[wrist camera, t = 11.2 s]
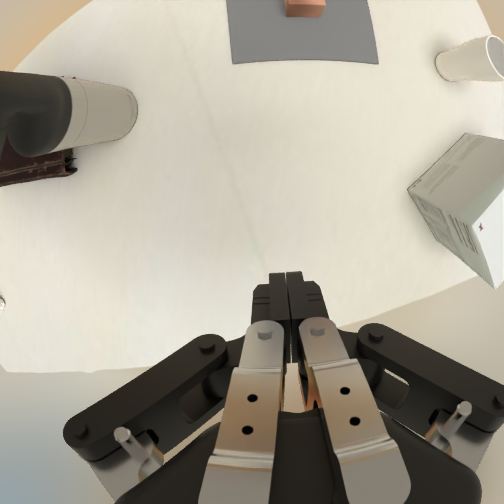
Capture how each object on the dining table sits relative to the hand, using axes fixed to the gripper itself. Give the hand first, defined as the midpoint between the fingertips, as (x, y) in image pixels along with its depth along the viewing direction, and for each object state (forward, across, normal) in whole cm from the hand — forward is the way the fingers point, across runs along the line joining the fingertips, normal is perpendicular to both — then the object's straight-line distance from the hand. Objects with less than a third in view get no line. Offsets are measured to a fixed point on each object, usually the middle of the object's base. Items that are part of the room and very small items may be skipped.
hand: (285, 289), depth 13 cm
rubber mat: (+31, -7, -29) cm, 43 cm away
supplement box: (+31, -33, +2) cm, 46 cm away
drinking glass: (+31, -32, -20) cm, 49 cm away
